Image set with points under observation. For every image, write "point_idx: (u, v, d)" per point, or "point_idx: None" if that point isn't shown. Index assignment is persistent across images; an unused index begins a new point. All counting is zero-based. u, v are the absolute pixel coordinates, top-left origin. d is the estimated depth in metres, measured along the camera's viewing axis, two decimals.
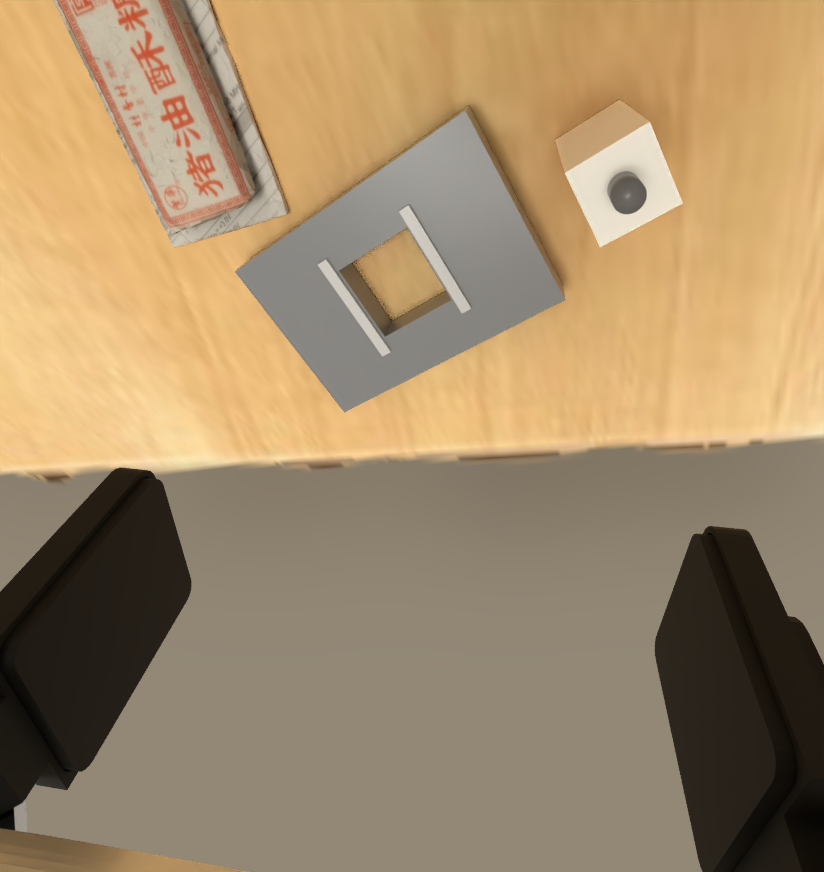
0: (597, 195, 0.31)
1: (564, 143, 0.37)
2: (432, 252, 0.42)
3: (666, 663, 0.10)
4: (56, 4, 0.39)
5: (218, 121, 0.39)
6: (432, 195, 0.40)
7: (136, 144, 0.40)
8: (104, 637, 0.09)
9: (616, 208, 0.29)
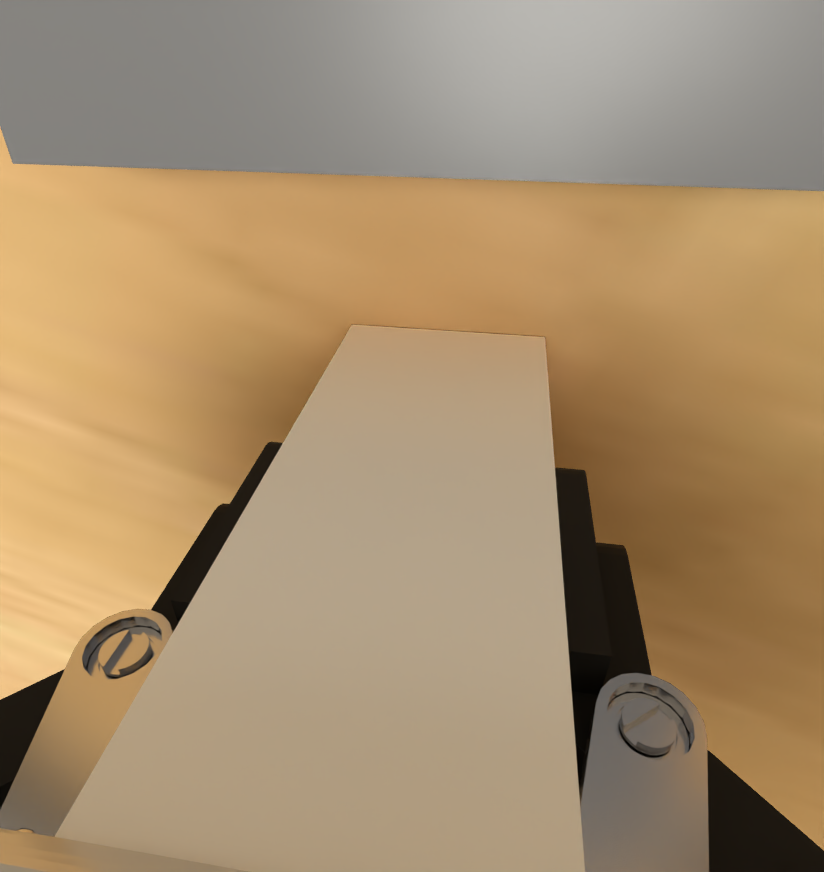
0: None
1: None
2: None
3: None
4: None
5: None
6: None
7: None
8: None
9: None
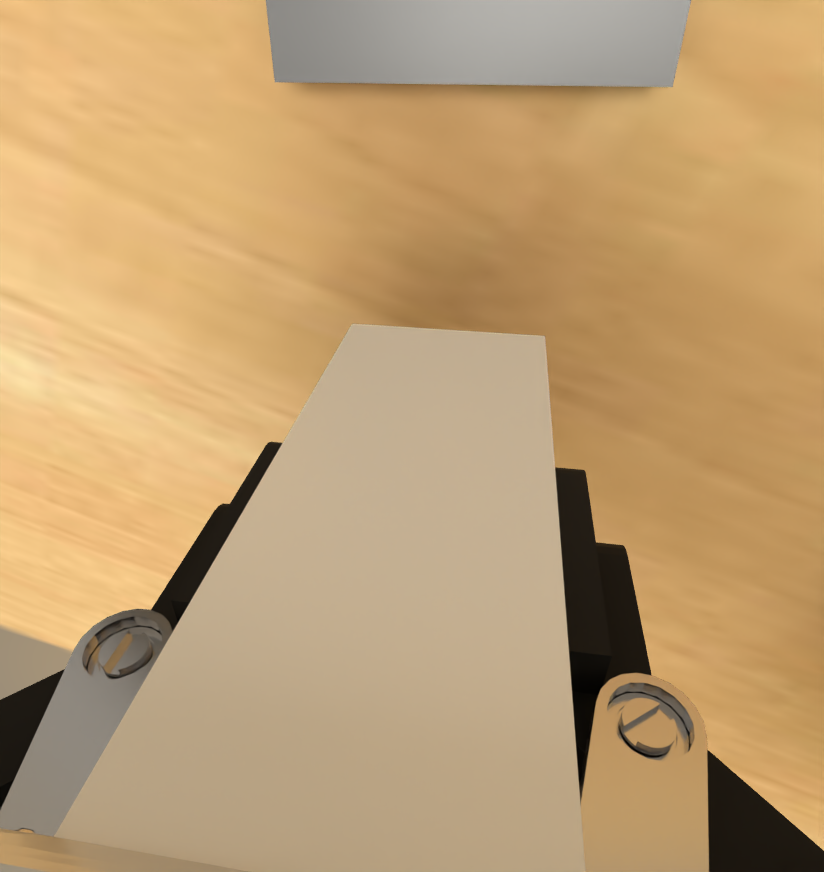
0: None
1: None
2: None
3: None
4: None
5: None
6: None
7: None
8: None
9: None
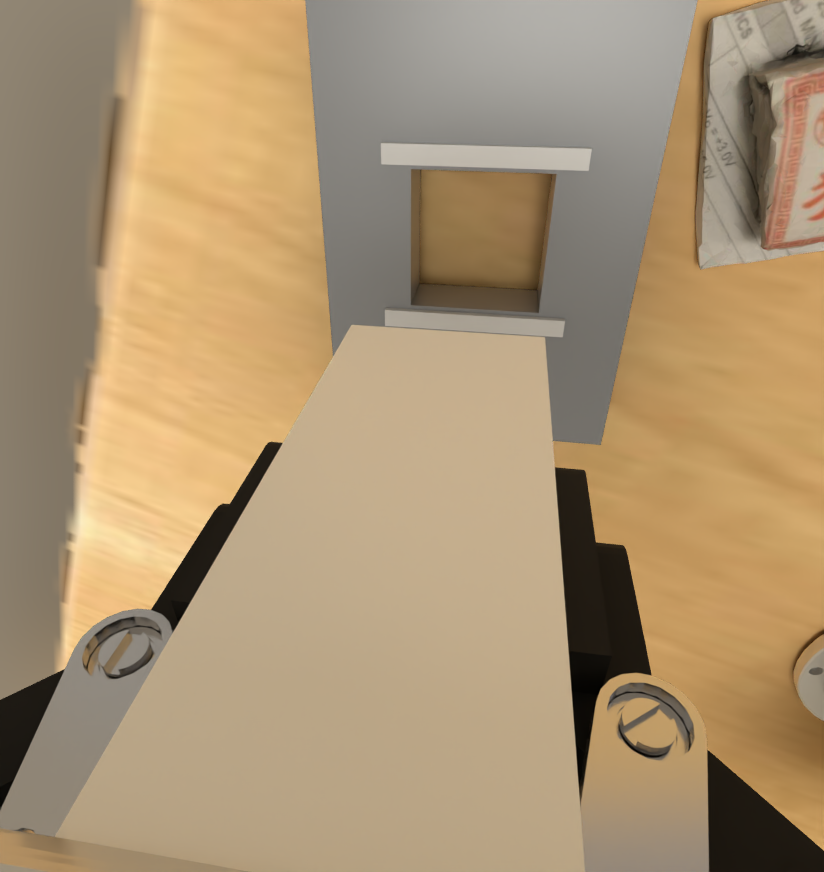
0: None
1: None
2: (487, 326, 0.28)
3: None
4: None
5: None
6: (549, 365, 0.29)
7: None
8: None
9: None
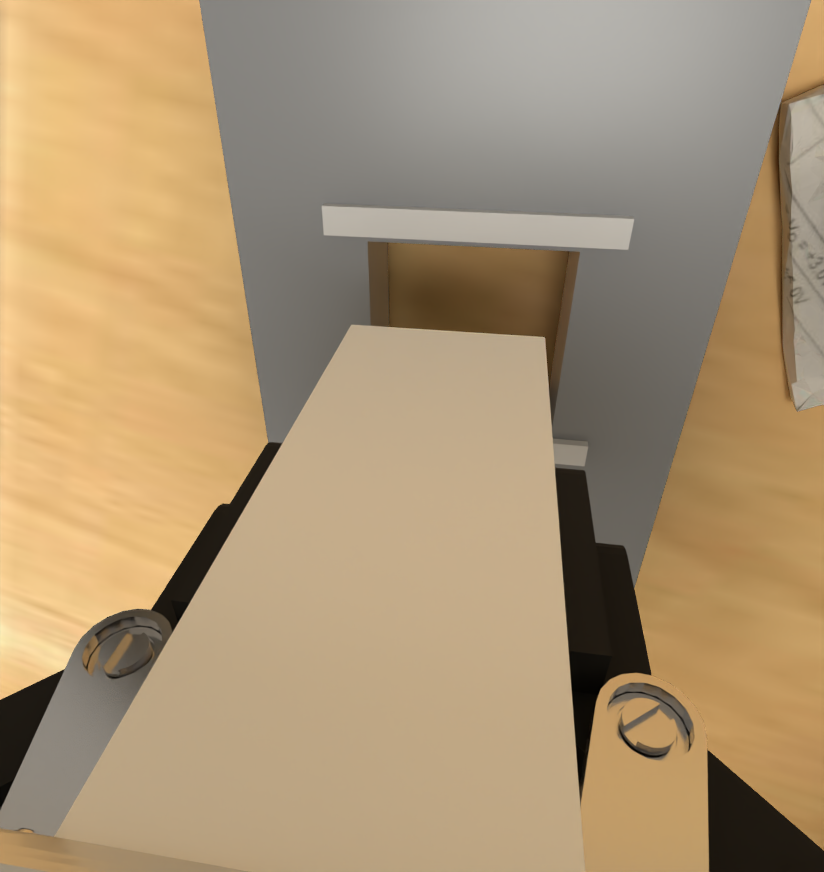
0: None
1: None
2: None
3: None
4: None
5: None
6: None
7: None
8: None
9: None
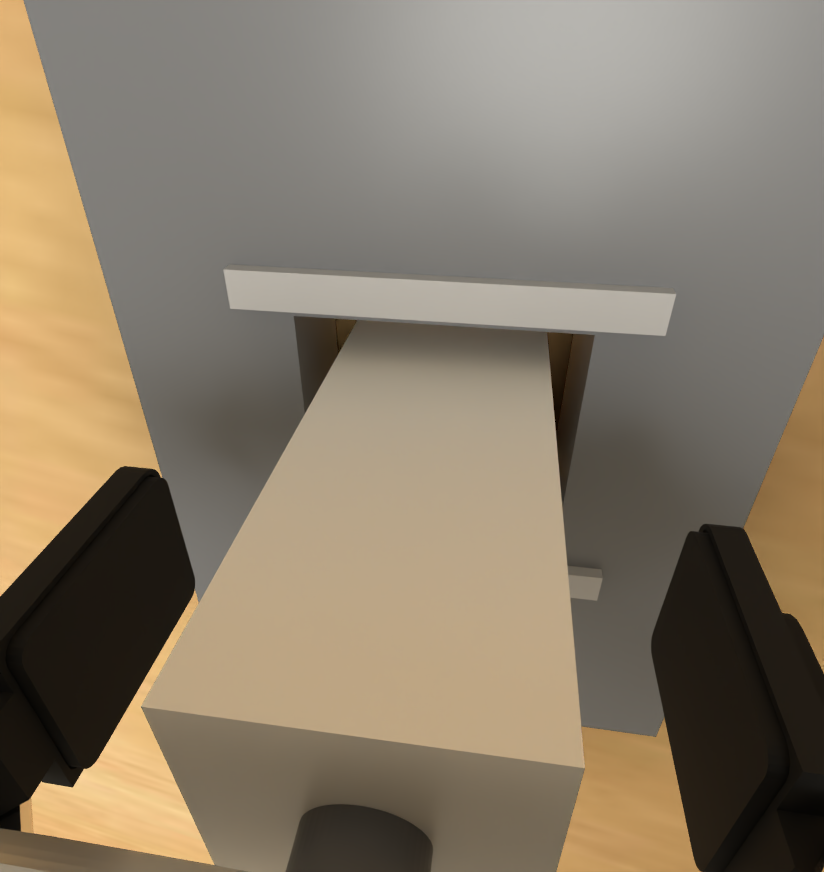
0: (387, 790, 0.06)
1: None
2: None
3: (662, 660, 0.10)
4: None
5: None
6: None
7: None
8: (109, 635, 0.09)
9: None
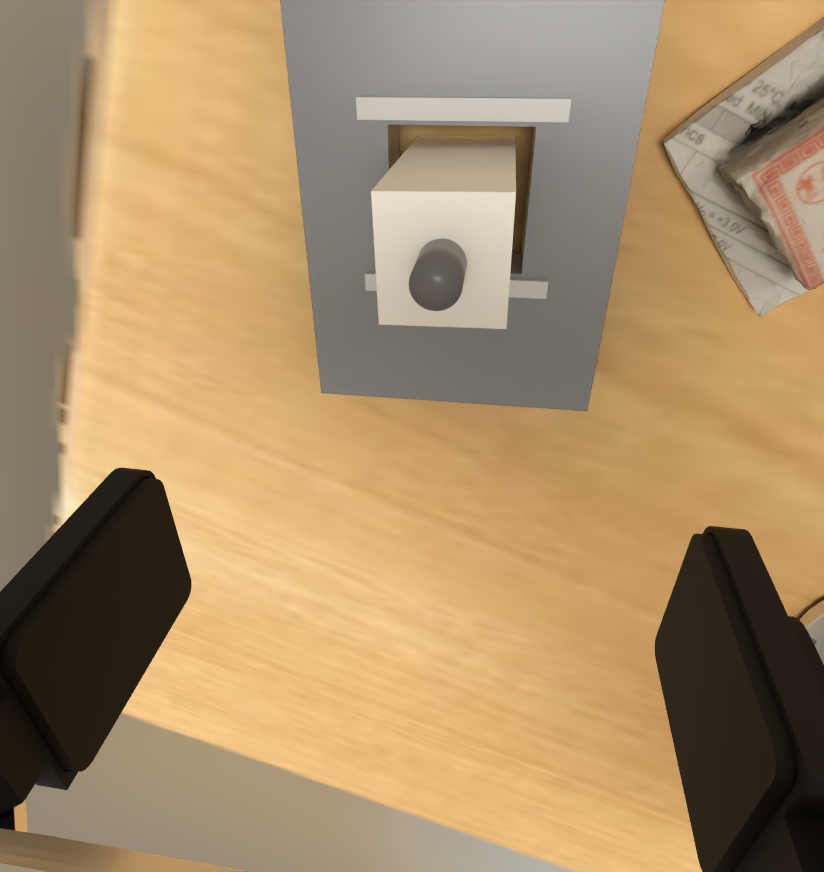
0: (452, 224, 0.19)
1: None
2: None
3: (666, 663, 0.10)
4: None
5: None
6: (534, 329, 0.29)
7: None
8: (104, 637, 0.09)
9: (429, 261, 0.17)
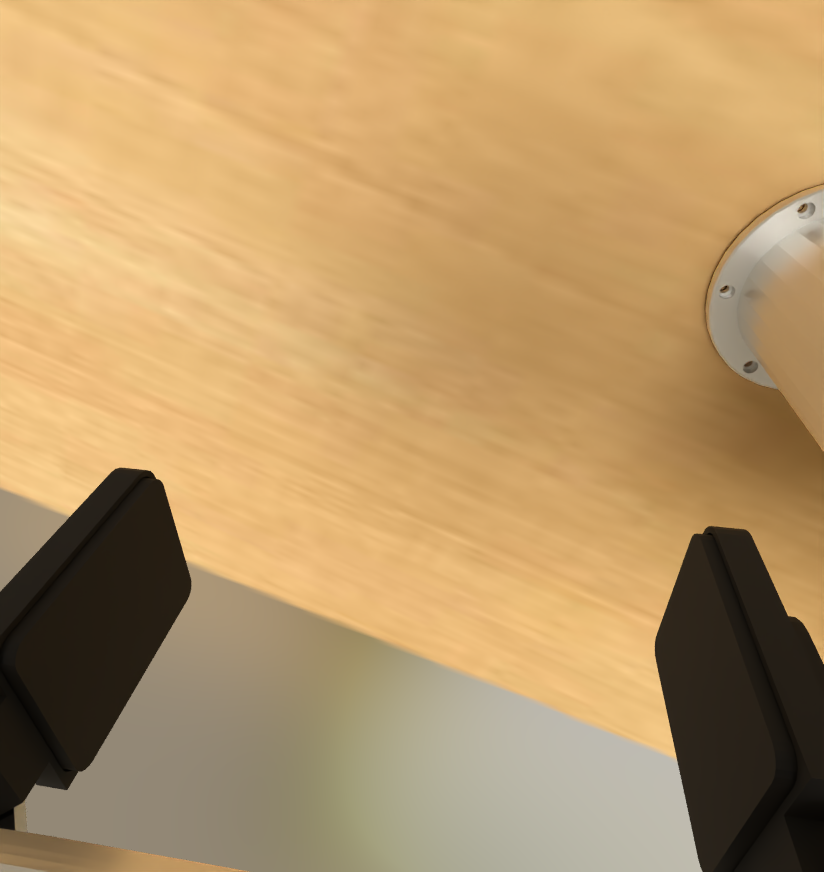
0: None
1: None
2: None
3: (666, 663, 0.10)
4: None
5: None
6: None
7: None
8: (104, 637, 0.09)
9: None
